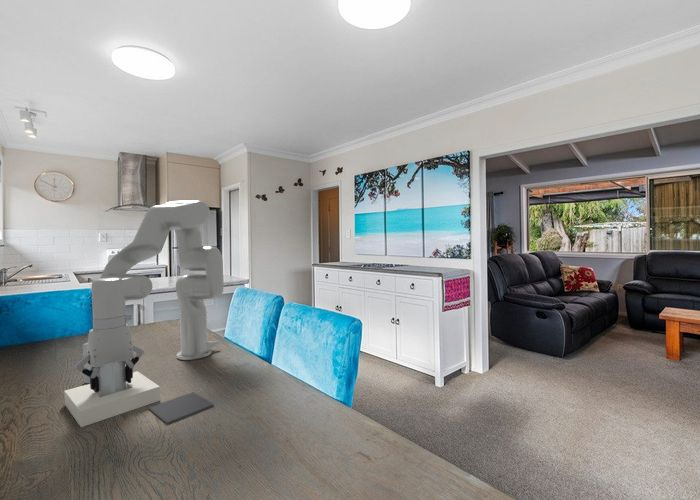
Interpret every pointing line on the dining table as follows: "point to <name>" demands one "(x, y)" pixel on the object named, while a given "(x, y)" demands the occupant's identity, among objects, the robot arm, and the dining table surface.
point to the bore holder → (110, 400)
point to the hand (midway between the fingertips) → (112, 385)
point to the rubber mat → (180, 407)
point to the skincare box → (111, 378)
